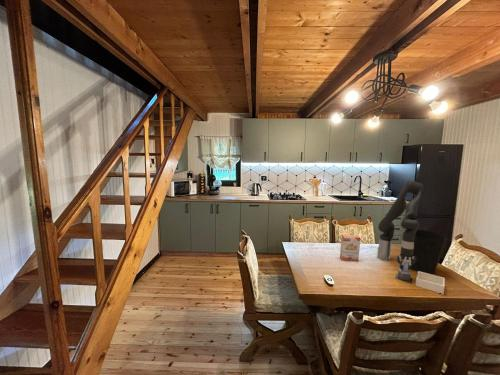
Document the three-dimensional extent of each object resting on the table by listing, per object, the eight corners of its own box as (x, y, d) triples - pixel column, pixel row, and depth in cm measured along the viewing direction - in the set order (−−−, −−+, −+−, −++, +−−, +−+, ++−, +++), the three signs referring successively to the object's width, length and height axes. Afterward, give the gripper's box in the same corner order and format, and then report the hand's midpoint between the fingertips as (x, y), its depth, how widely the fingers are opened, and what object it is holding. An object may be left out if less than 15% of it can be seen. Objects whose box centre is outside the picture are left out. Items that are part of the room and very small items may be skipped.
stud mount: (394, 279, 173) (395, 273, 173) (396, 274, 181) (397, 268, 181) (411, 284, 167) (412, 277, 167) (412, 279, 175) (413, 272, 174)
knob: (397, 275, 177) (399, 257, 175) (405, 276, 177) (407, 257, 175) (402, 279, 171) (404, 260, 170) (410, 280, 171) (412, 260, 169)
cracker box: (341, 260, 204) (343, 236, 201) (339, 257, 210) (341, 234, 207) (358, 261, 202) (360, 237, 200) (356, 258, 208) (358, 235, 206)
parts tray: (415, 286, 164) (416, 278, 164) (417, 278, 176) (418, 271, 175) (443, 295, 155) (444, 286, 154) (443, 285, 167) (444, 277, 166)
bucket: (424, 279, 175) (429, 239, 171) (392, 263, 201) (396, 228, 197) (451, 275, 182) (457, 237, 178) (417, 260, 208) (421, 226, 205)
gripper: (414, 245, 174) (411, 267, 177) (394, 244, 175) (391, 266, 178) (421, 249, 167) (418, 272, 169) (399, 248, 168) (397, 271, 170)
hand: (404, 269), depth 173 cm, fingers closed on knob, 3 cm apart
